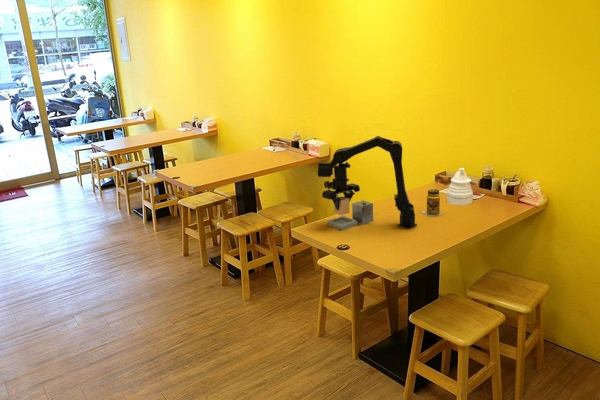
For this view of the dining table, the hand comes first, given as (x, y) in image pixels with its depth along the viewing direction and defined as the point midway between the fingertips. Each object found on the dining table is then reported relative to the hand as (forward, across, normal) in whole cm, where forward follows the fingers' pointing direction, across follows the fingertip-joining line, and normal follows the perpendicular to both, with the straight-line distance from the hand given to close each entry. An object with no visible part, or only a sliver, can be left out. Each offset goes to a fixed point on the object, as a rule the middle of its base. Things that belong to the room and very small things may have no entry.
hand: (341, 208), depth 239 cm
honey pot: (+9, -66, +17) cm, 69 cm away
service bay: (+8, 0, 0) cm, 8 cm away
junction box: (+8, -10, +3) cm, 14 cm away
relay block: (+2, 0, 0) cm, 2 cm away
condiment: (+9, -42, +19) cm, 47 cm away
